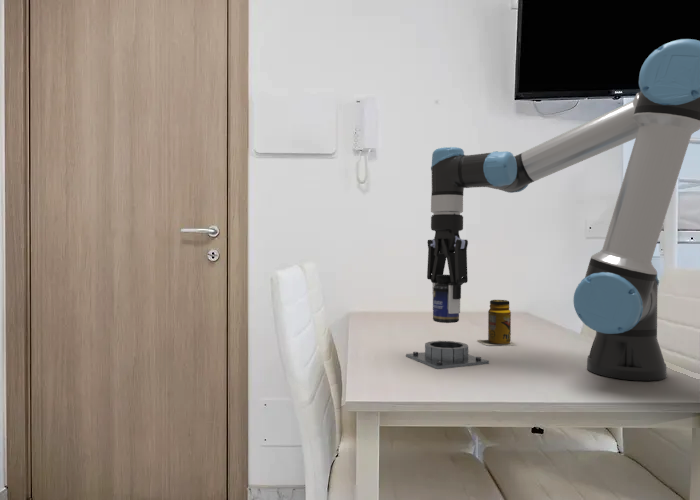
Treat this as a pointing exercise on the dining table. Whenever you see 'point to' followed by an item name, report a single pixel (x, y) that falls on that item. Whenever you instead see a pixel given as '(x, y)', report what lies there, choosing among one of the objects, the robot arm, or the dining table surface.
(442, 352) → the fitting
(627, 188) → the robot arm
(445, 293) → the pill bottle
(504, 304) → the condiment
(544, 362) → the dining table surface
